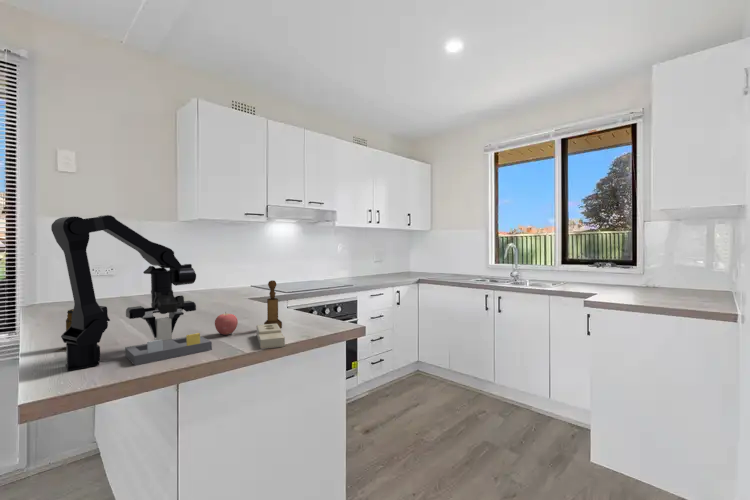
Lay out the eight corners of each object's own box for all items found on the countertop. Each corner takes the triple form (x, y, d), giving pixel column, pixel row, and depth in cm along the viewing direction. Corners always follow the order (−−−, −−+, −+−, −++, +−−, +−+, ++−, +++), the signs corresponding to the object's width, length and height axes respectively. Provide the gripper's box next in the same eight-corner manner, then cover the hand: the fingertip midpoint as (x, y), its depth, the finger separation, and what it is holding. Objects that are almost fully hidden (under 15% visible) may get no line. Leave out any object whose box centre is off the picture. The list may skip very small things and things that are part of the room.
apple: (211, 334, 132) (210, 312, 132) (230, 330, 138) (230, 309, 138) (221, 338, 127) (220, 314, 127) (241, 333, 133) (241, 311, 133)
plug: (157, 346, 116) (157, 320, 116) (154, 344, 119) (153, 318, 119) (171, 343, 119) (171, 318, 119) (168, 341, 122) (167, 317, 122)
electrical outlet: (260, 336, 114) (256, 324, 130) (260, 350, 114) (256, 336, 130) (284, 334, 116) (277, 323, 133) (284, 347, 116) (277, 334, 133)
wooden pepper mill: (279, 330, 137) (278, 281, 137) (261, 330, 138) (260, 281, 137) (283, 326, 144) (283, 279, 144) (267, 326, 144) (266, 279, 144)
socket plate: (134, 365, 100) (134, 344, 99) (125, 355, 108) (124, 337, 108) (211, 349, 113) (211, 331, 113) (197, 342, 122) (197, 325, 122)
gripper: (133, 292, 106) (134, 347, 107) (201, 286, 119) (202, 335, 120) (124, 289, 114) (126, 340, 115) (189, 283, 127) (190, 329, 128)
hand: (163, 336), depth 119 cm, fingers closed on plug, 4 cm apart
